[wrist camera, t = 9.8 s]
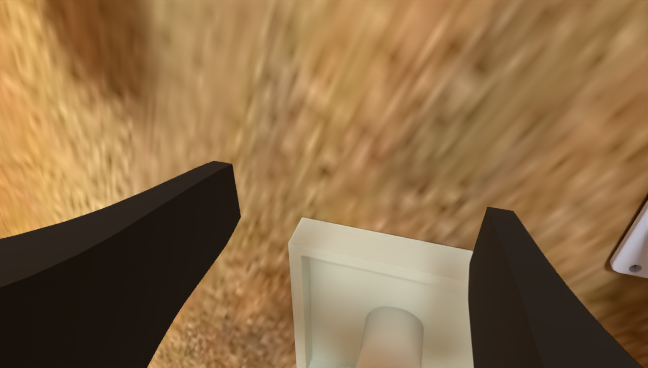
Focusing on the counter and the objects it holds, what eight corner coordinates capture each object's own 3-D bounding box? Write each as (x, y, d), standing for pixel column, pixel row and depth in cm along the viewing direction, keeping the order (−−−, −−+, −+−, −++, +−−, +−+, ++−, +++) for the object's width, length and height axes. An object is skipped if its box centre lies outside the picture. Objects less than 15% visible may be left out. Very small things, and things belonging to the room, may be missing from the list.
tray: (536, 263, 21) (544, 298, 19) (474, 396, 30) (475, 430, 28) (302, 217, 24) (288, 243, 22) (307, 348, 33) (297, 375, 31)
